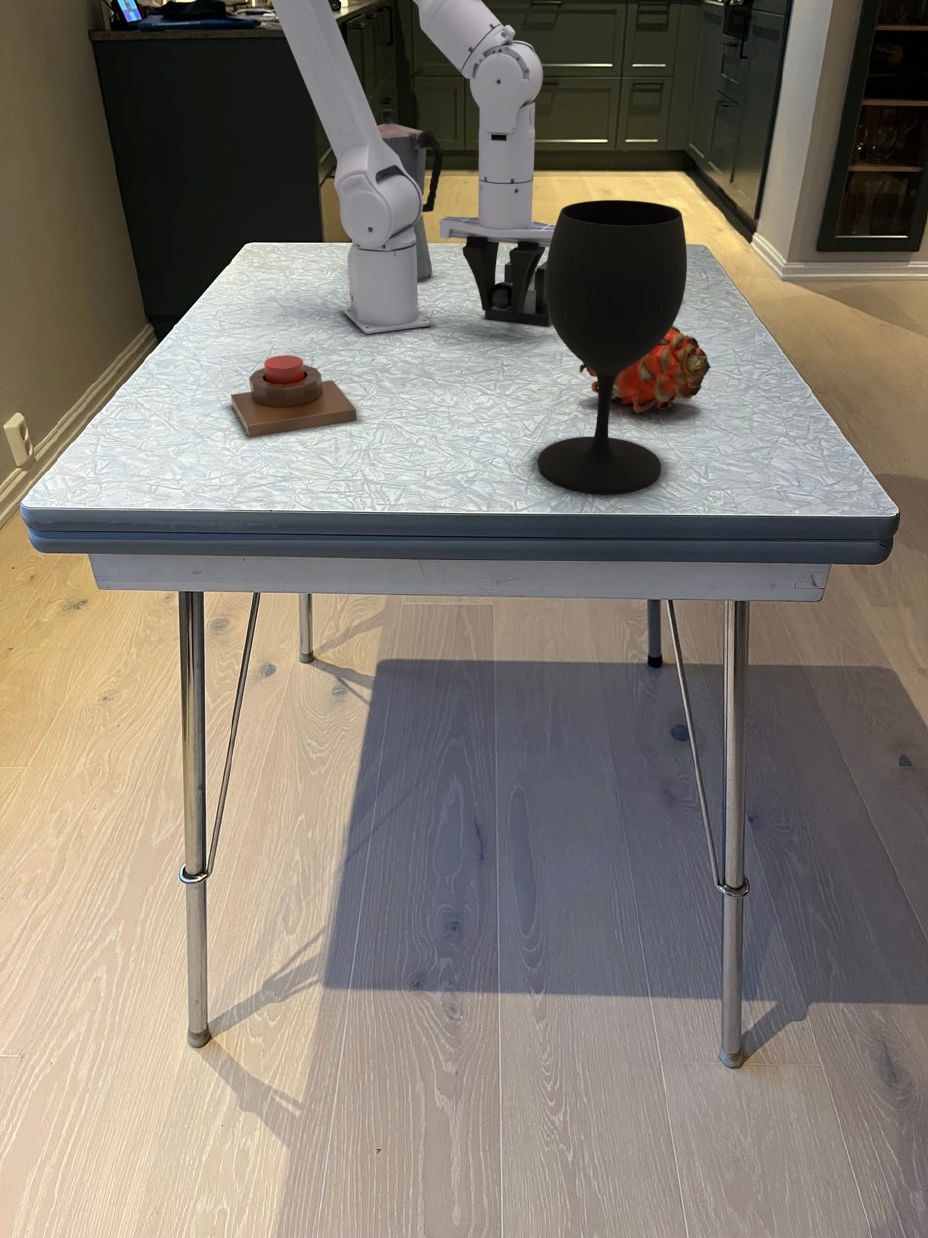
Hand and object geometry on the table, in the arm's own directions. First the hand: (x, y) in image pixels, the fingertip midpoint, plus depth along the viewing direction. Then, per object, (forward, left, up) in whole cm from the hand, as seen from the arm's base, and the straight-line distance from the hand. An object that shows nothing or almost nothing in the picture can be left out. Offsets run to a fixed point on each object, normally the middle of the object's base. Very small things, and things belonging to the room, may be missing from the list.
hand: (503, 310), depth 106 cm
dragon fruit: (+25, +3, -3) cm, 25 cm away
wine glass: (+35, -7, -3) cm, 35 cm away
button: (+12, -28, 0) cm, 30 cm away
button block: (+14, -28, -3) cm, 31 cm away
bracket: (-6, +6, -3) cm, 9 cm away
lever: (-3, +3, 0) cm, 4 cm away
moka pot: (-27, -3, -3) cm, 28 cm away
